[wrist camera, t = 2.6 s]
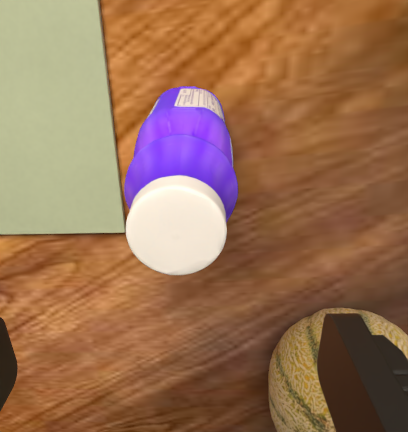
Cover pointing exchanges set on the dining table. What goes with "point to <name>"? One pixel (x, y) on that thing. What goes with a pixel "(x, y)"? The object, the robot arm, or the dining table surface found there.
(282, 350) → the cantaloupe
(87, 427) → the dining table surface
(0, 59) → the mat
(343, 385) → the robot arm
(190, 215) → the bottle
